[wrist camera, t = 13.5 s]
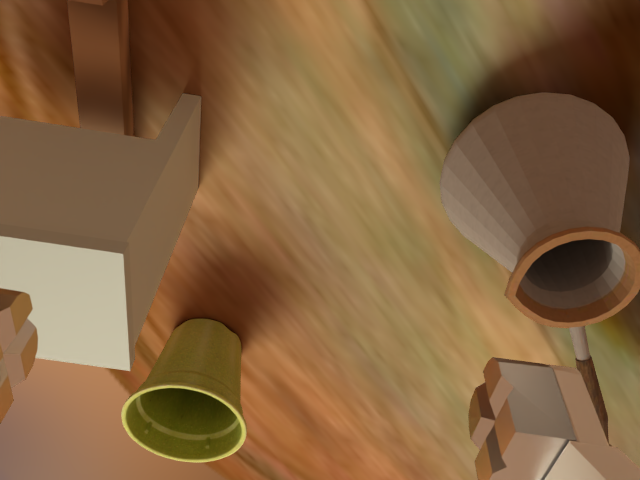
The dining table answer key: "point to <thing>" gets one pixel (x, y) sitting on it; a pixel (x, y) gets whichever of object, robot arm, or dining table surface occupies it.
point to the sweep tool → (102, 64)
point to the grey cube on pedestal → (93, 228)
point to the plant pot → (191, 396)
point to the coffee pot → (549, 212)
